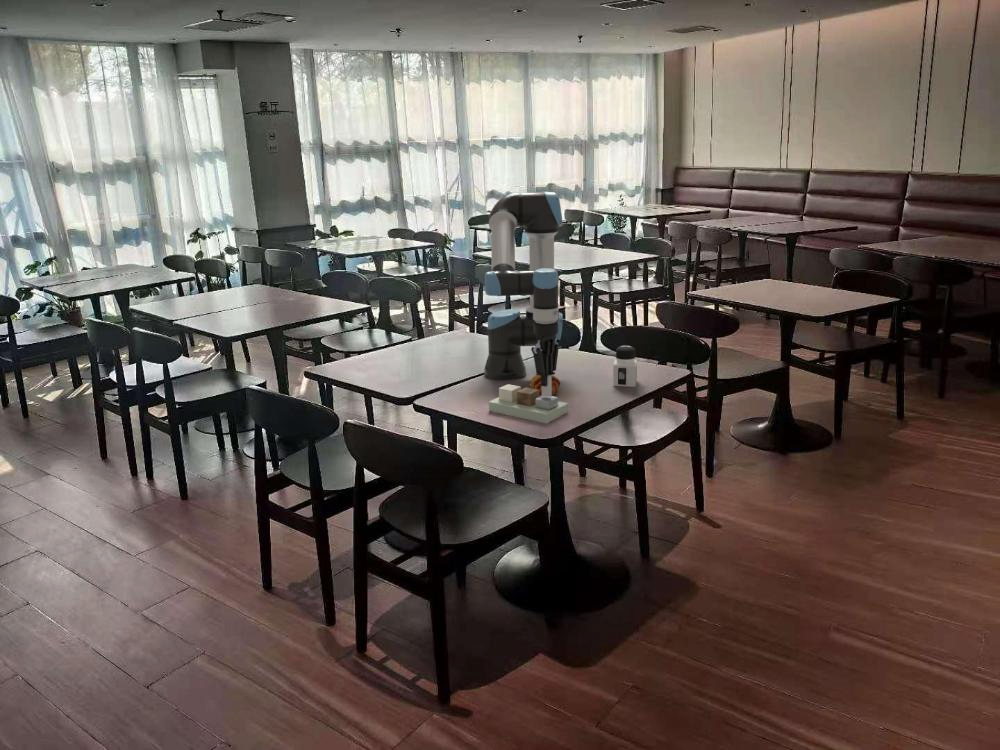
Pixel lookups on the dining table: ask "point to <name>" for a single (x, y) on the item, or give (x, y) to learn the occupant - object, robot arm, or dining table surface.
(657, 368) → the dining table surface
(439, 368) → the dining table surface
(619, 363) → the container
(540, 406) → the white marble cube
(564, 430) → the dining table surface
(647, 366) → the dining table surface
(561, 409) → the pale green flat block
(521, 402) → the brown wooden cube
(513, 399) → the key ivory
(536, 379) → the croissant
